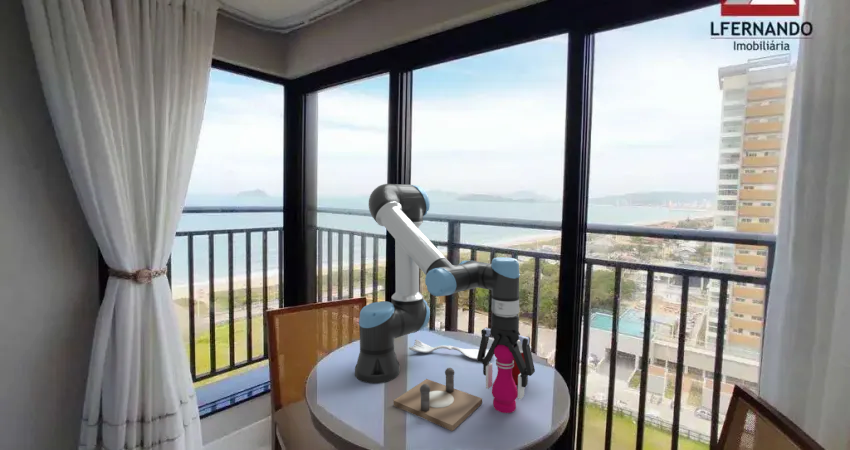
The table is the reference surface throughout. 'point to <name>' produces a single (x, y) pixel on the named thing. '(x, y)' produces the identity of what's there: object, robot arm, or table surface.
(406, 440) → the table surface
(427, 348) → the spoon
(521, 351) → the plastic cup
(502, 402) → the pepper mill
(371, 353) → the robot arm
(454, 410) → the holder
